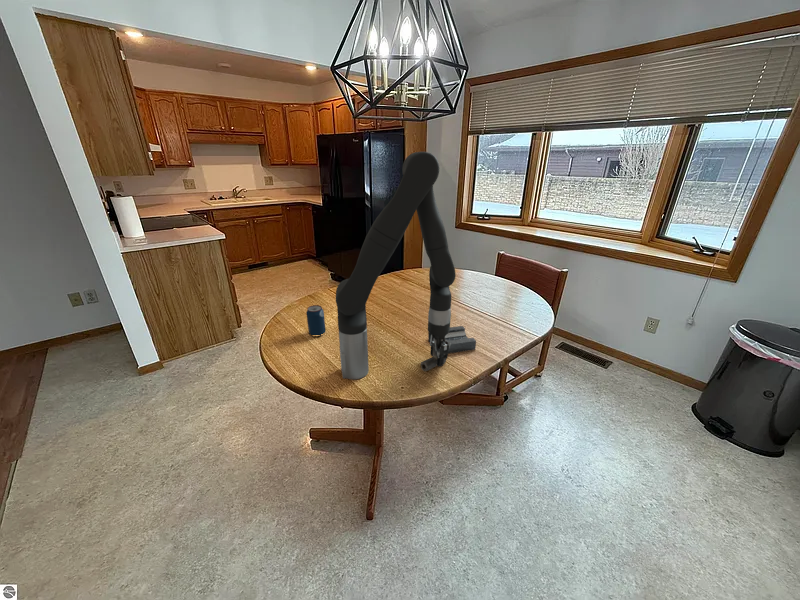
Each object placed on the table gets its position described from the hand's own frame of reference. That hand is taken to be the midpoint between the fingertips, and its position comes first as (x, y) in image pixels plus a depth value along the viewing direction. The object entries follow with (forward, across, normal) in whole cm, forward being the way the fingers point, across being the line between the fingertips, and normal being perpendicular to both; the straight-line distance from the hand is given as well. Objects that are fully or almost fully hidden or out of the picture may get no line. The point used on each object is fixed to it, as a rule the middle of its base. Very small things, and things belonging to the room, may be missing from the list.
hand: (436, 360), depth 116 cm
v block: (+2, -12, +11) cm, 16 cm away
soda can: (+2, -33, -41) cm, 53 cm away
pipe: (+2, +1, 0) cm, 2 cm away
